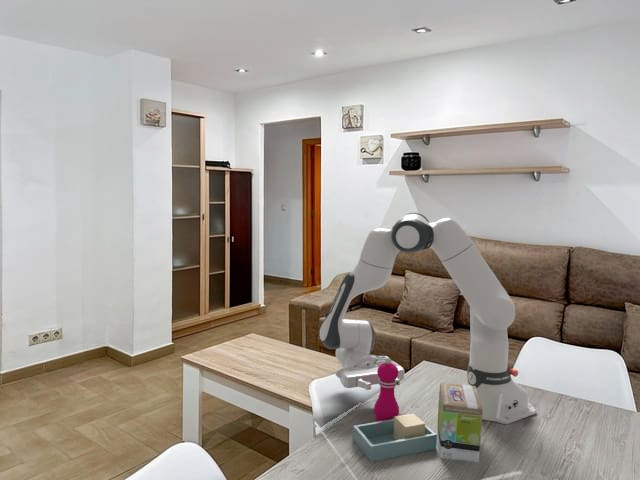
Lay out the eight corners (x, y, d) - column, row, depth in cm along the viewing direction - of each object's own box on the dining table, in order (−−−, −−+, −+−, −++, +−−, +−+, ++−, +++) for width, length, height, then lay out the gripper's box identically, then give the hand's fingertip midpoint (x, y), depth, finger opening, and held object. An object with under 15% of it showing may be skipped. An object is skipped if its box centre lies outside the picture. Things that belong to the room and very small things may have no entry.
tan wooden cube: (412, 434, 131) (413, 413, 130) (424, 445, 125) (425, 423, 125) (393, 437, 129) (394, 416, 128) (404, 448, 123) (405, 427, 123)
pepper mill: (372, 418, 141) (374, 353, 139) (396, 419, 141) (399, 354, 139) (374, 430, 134) (376, 362, 132) (400, 431, 133) (402, 363, 131)
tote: (414, 430, 134) (414, 415, 134) (436, 450, 124) (437, 434, 123) (352, 441, 128) (353, 425, 127) (370, 464, 117) (371, 446, 117)
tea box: (480, 465, 118) (483, 408, 116) (438, 460, 120) (441, 404, 118) (473, 435, 132) (476, 384, 131) (436, 430, 134) (438, 380, 133)
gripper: (333, 362, 147) (351, 379, 135) (391, 355, 154) (413, 370, 141) (333, 381, 148) (350, 400, 135) (391, 374, 155) (413, 391, 142)
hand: (383, 385), depth 138 cm, fingers open, 8 cm apart
